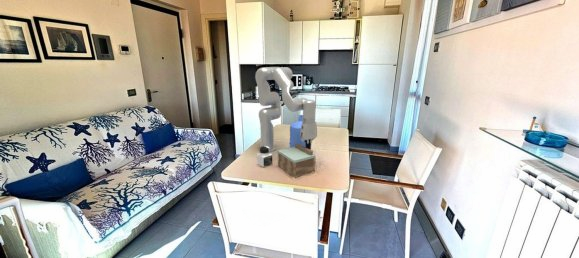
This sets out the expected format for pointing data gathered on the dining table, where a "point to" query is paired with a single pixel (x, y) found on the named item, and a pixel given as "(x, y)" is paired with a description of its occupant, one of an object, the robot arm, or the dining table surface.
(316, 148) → the dining table surface
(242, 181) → the dining table surface
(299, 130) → the water jug
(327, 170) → the dining table surface
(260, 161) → the medicine bottle
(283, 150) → the lid
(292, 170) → the wooden box
